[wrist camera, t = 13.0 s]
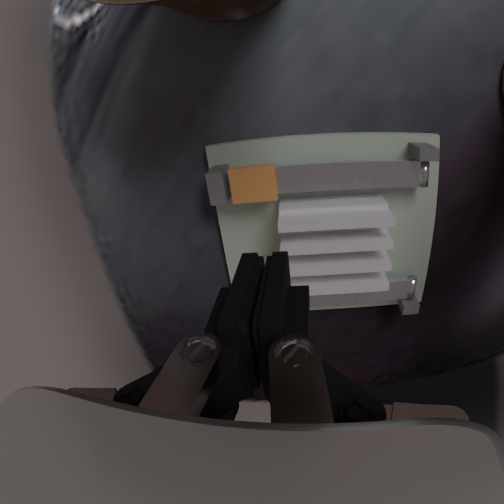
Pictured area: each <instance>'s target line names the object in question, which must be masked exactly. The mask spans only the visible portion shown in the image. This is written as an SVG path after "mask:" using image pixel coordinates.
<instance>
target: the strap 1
mask: <svg viewBox="0 0 504 504" xmlns="http://www.w3.org/2000/svg"><path fill="white" fill-rule="evenodd" d="M228 176H229V182H230V188H231V194H232V200H233V204H241V203H252V202H264V201H276V200H278V194H281V193H294V192H308V191H324V190H342V189H364V188H392V187H424V188H425V187H428V182H429V161H419V160H417V159H370V160H341V161H321V162H306V163H292V164H279V165H274V163H270V164H259V165H249V166H240V167H231V168H229V169H228Z"/></svg>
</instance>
